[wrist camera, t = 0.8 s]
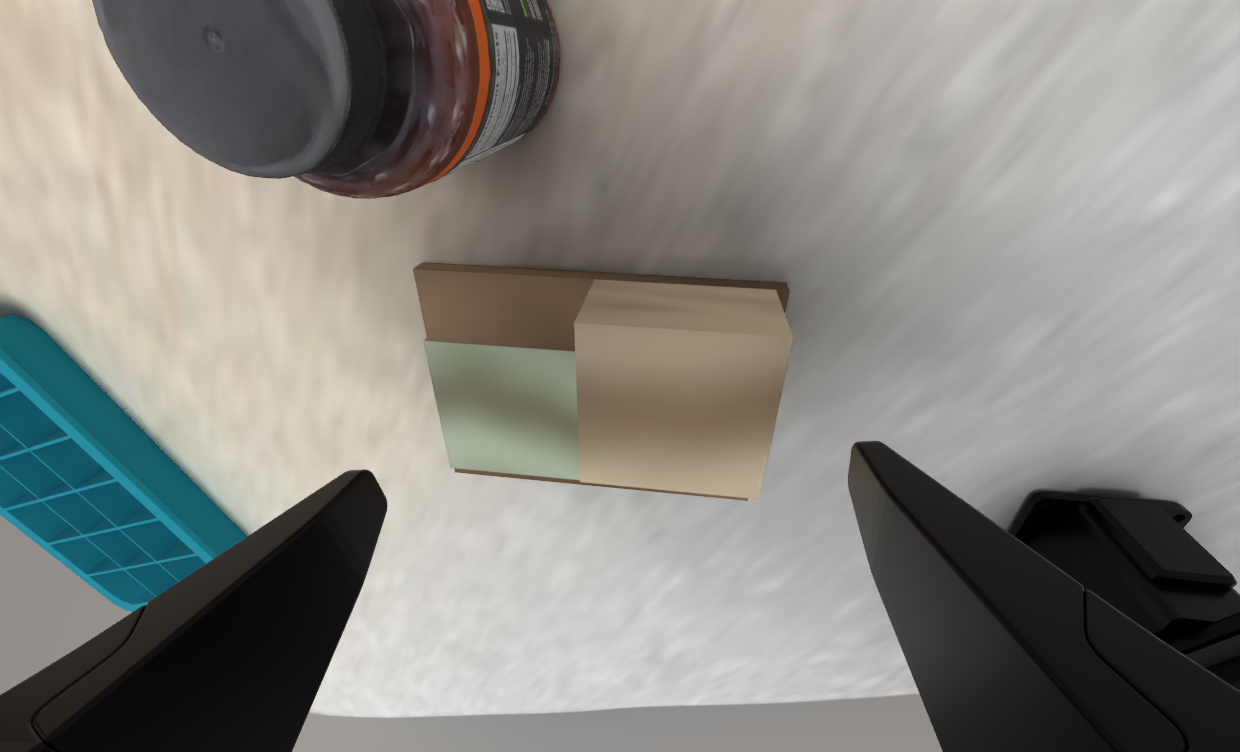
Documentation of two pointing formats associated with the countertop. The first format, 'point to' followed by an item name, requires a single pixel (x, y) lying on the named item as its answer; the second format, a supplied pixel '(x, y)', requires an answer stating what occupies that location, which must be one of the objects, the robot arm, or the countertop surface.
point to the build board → (516, 364)
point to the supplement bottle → (339, 83)
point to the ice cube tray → (95, 478)
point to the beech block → (679, 385)
